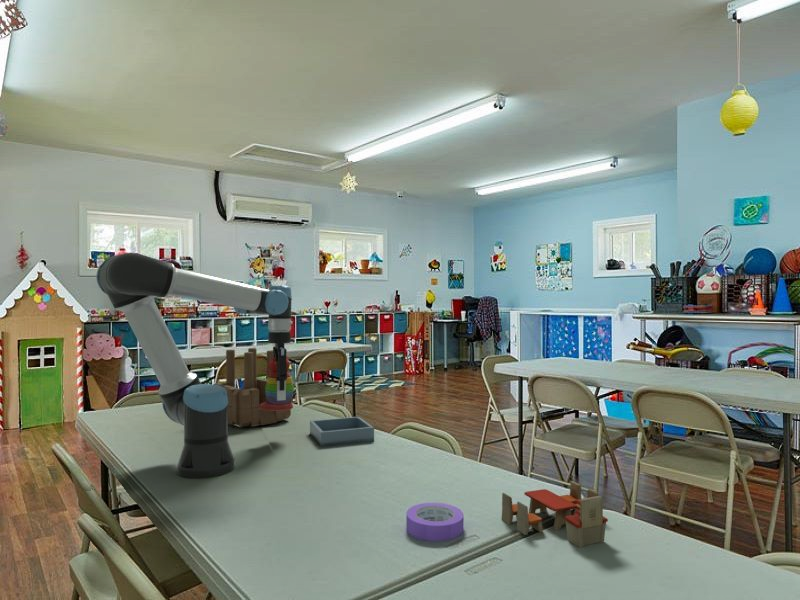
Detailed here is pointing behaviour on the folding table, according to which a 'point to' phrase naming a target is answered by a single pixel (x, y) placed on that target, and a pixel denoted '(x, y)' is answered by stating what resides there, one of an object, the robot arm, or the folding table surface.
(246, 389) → the wooden toy structure
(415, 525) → the masking tape
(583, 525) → the dollhouse furniture set
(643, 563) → the folding table surface
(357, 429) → the tray
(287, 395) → the stacking bear
